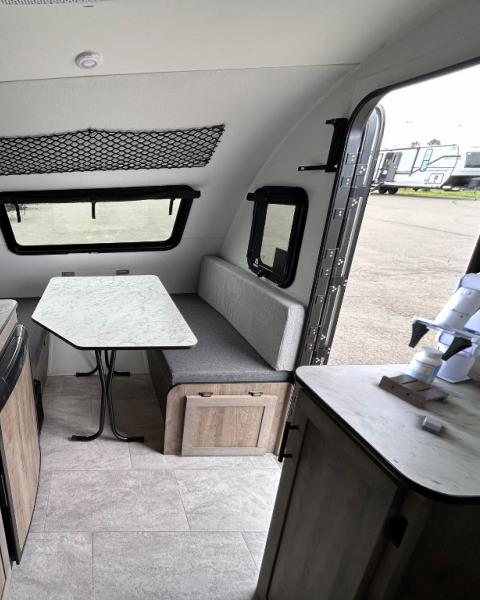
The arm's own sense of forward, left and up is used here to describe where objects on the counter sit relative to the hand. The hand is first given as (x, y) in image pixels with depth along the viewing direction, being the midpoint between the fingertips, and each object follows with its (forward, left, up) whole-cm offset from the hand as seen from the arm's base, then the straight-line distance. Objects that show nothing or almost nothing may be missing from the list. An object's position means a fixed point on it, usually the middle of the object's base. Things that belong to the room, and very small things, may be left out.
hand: (426, 353), depth 96 cm
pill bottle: (-3, 0, -11) cm, 11 cm away
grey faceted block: (+19, +14, -10) cm, 26 cm away
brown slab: (+7, +4, -10) cm, 13 cm away
